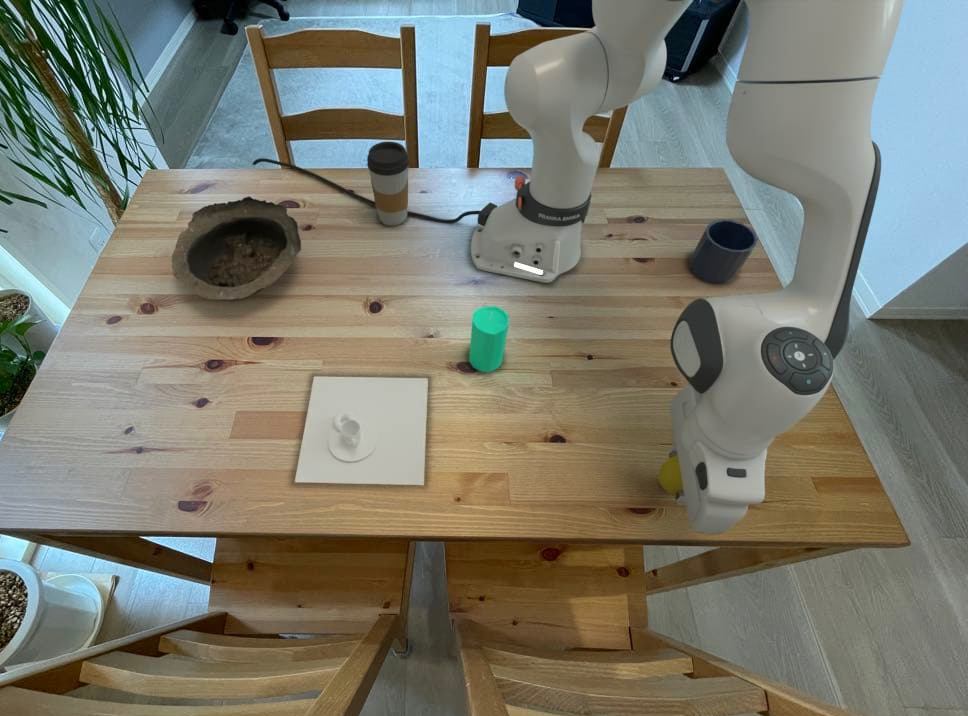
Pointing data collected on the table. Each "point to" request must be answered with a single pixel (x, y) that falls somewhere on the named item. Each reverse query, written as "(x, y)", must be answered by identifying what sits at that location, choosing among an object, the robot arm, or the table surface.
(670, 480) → the lemon
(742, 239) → the glazed cup
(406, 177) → the coffee cup
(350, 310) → the table surface
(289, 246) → the stone bowl
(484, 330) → the candle
